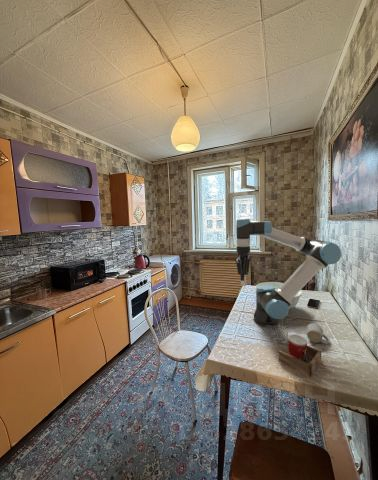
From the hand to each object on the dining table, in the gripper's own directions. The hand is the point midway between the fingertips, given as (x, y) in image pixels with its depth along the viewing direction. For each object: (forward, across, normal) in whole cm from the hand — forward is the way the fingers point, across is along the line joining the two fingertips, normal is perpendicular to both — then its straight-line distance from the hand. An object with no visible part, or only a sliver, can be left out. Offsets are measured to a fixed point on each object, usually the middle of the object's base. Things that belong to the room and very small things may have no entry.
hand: (243, 285), depth 119 cm
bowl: (+30, -46, -1) cm, 55 cm away
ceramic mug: (+30, -22, +32) cm, 49 cm away
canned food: (+30, +3, +31) cm, 43 cm away
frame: (+29, +2, +32) cm, 44 cm away
